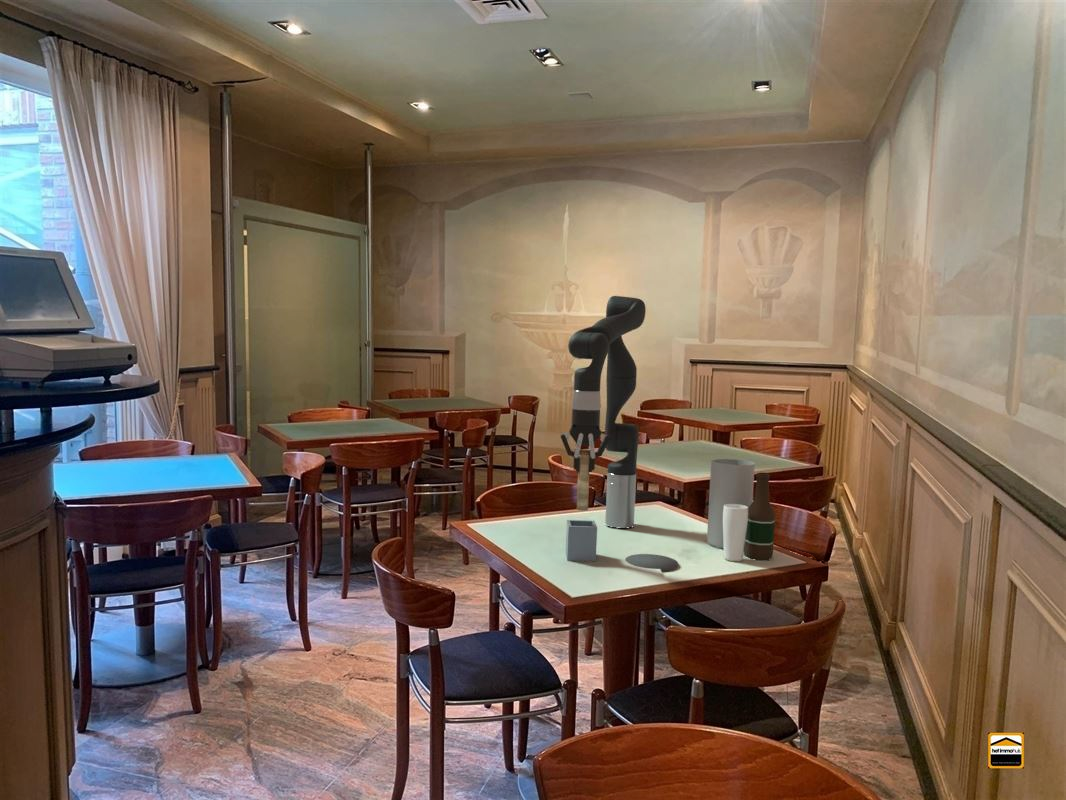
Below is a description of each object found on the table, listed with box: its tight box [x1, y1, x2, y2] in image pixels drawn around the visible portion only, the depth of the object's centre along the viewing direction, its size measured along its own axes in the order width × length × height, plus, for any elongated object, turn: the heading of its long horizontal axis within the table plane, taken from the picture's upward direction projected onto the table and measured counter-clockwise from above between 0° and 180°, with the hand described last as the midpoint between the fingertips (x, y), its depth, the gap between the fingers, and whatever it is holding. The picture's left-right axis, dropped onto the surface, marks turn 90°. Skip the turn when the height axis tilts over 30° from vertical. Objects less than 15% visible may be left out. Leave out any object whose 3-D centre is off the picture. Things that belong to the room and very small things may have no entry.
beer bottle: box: [743, 472, 776, 561], centre depth 219 cm, size 8×8×24 cm
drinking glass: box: [723, 504, 748, 562], centre depth 216 cm, size 7×7×15 cm
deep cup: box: [565, 519, 598, 562], centre depth 210 cm, size 8×8×10 cm
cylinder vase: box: [706, 458, 755, 550], centre depth 232 cm, size 12×12×25 cm
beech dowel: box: [576, 449, 590, 512], centre depth 209 cm, size 3×3×16 cm
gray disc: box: [625, 553, 679, 572], centre depth 209 cm, size 14×14×1 cm
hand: (583, 471), depth 209 cm, fingers closed on beech dowel, 3 cm apart
